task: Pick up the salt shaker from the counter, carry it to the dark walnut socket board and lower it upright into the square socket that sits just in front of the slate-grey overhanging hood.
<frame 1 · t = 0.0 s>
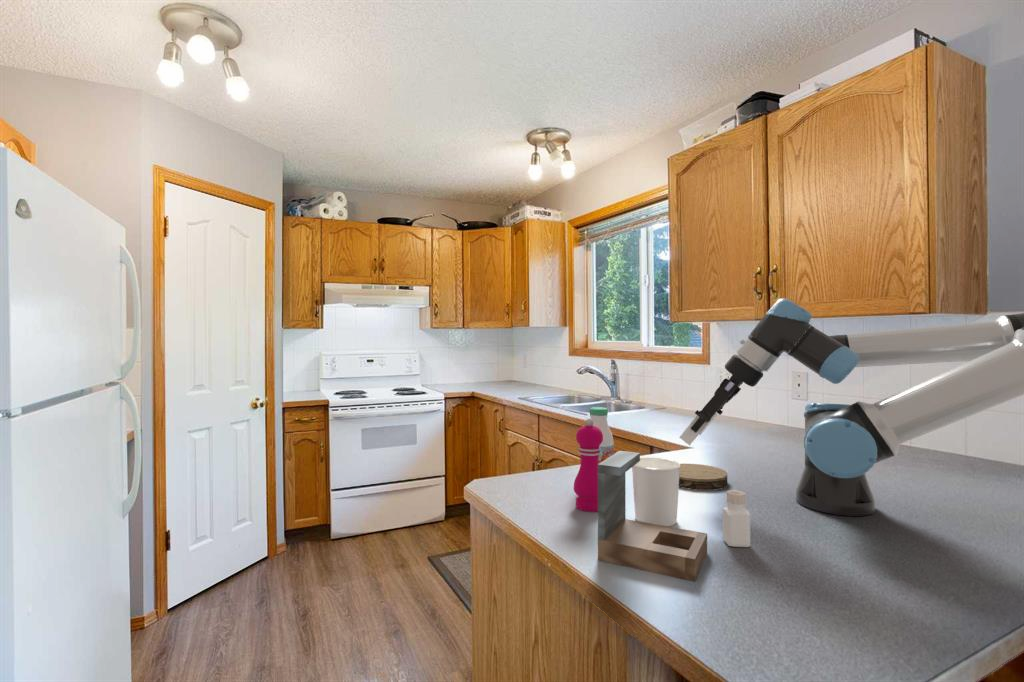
hand: (690, 436, 119), 15 cm above the counter, tool tilted 35°, fingers open, 13 cm apart
tan flat round disc: (695, 483, 136), on the counter
salt shaker: (736, 544, 95), on the counter
milk bottle: (598, 486, 132), on the counter
pepper mill: (589, 508, 116), on the counter
candle holder: (655, 521, 107), on the counter
socket stand: (653, 556, 90), on the counter
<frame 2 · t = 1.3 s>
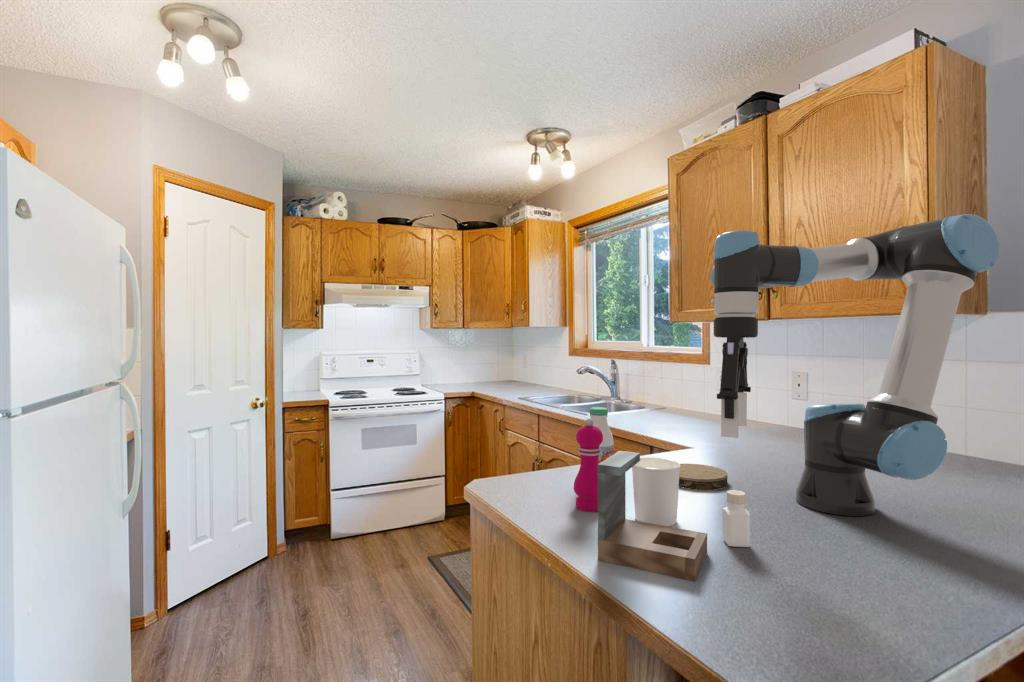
hand: (734, 430, 95), 21 cm above the counter, tool pointing down, fingers open, 13 cm apart
nothing on the counter moved.
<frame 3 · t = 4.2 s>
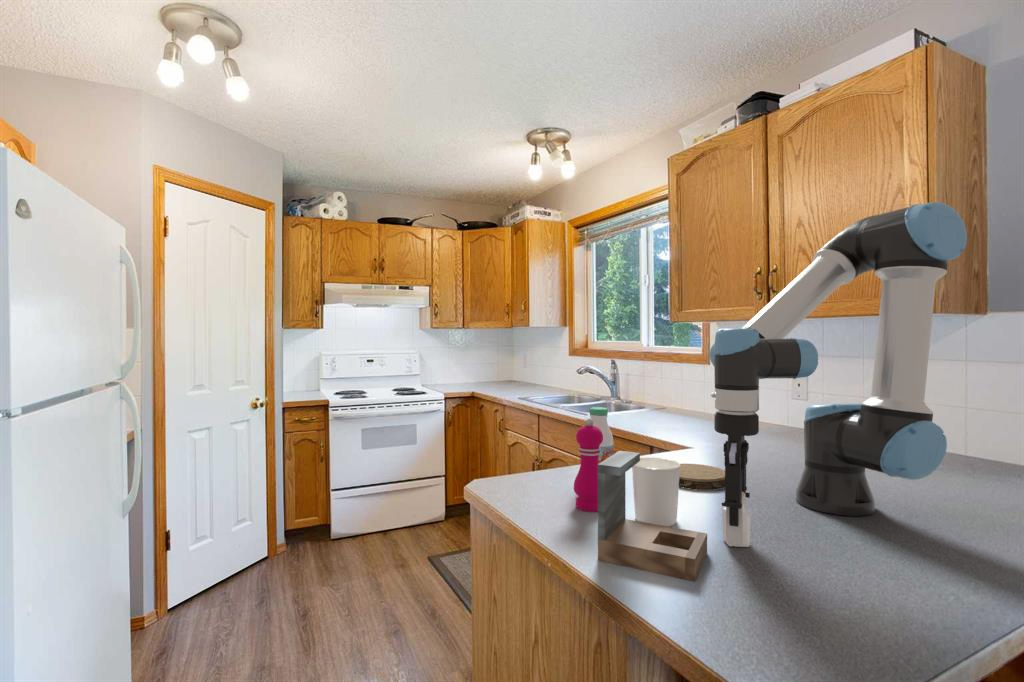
hand: (736, 536, 95), 1 cm above the counter, tool pointing down, fingers closed on salt shaker, 5 cm apart
salt shaker: (736, 544, 95), on the counter, touching gripper
everything else where it was.
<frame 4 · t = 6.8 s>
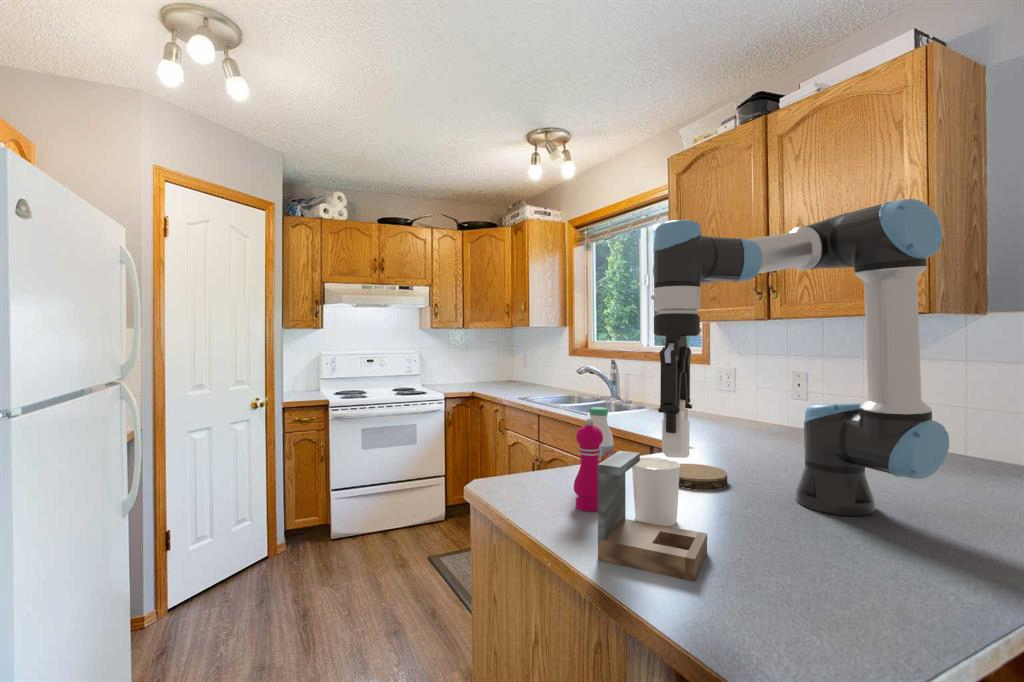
hand: (675, 448, 88), 19 cm above the counter, tool pointing down, fingers closed on salt shaker, 5 cm apart
salt shaker: (675, 456, 88), point 18 cm above the counter, touching gripper
everything else where it was.
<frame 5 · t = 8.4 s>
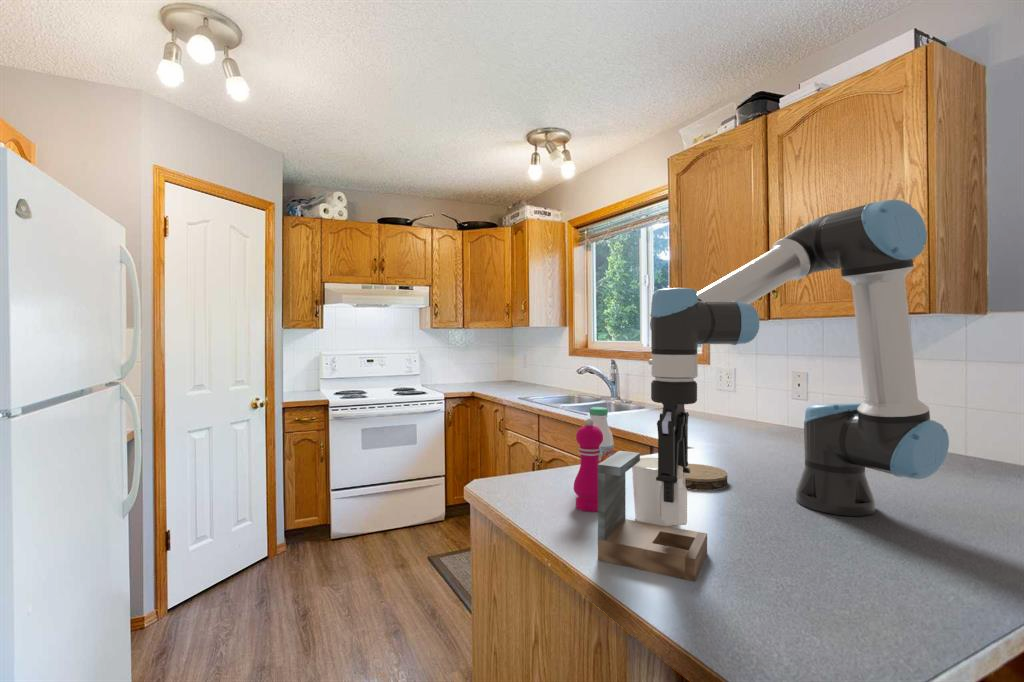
hand: (673, 514, 88), 8 cm above the counter, tool pointing down, fingers closed on salt shaker, 5 cm apart
salt shaker: (673, 523, 88), point 6 cm above the counter, touching gripper
everything else where it was.
when the fingers open (5 cm above the counter, at t = 9.6 s): salt shaker drops 4 cm, resting in socket stand.
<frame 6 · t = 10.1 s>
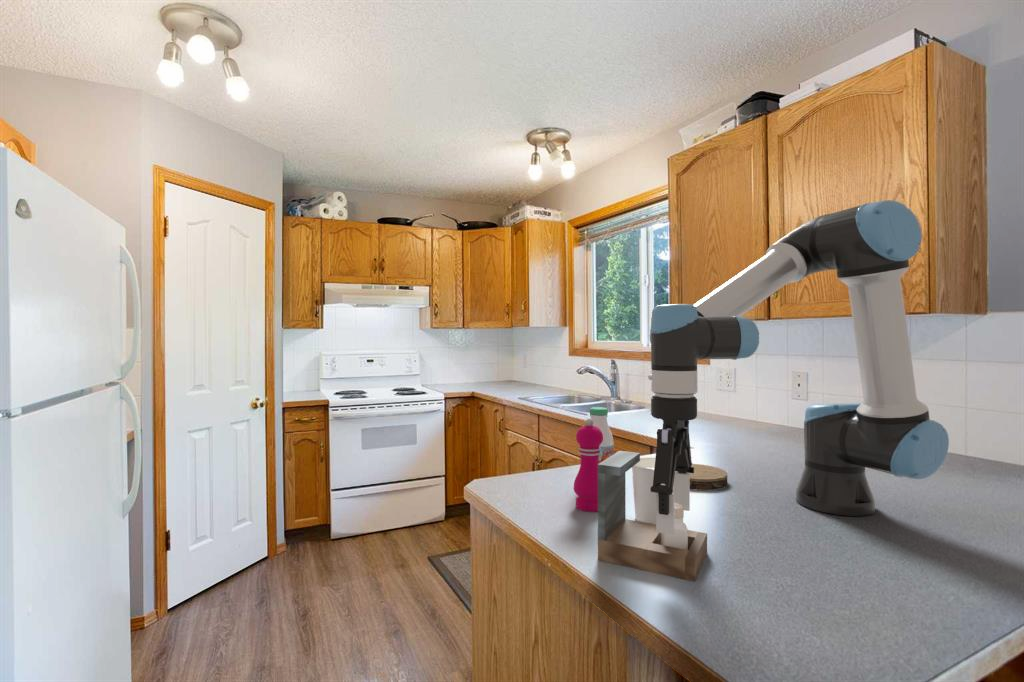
hand: (673, 520, 88), 7 cm above the counter, tool pointing down, fingers open, 12 cm apart
salt shaker: (674, 561, 88), resting in socket stand
everything else where it was.
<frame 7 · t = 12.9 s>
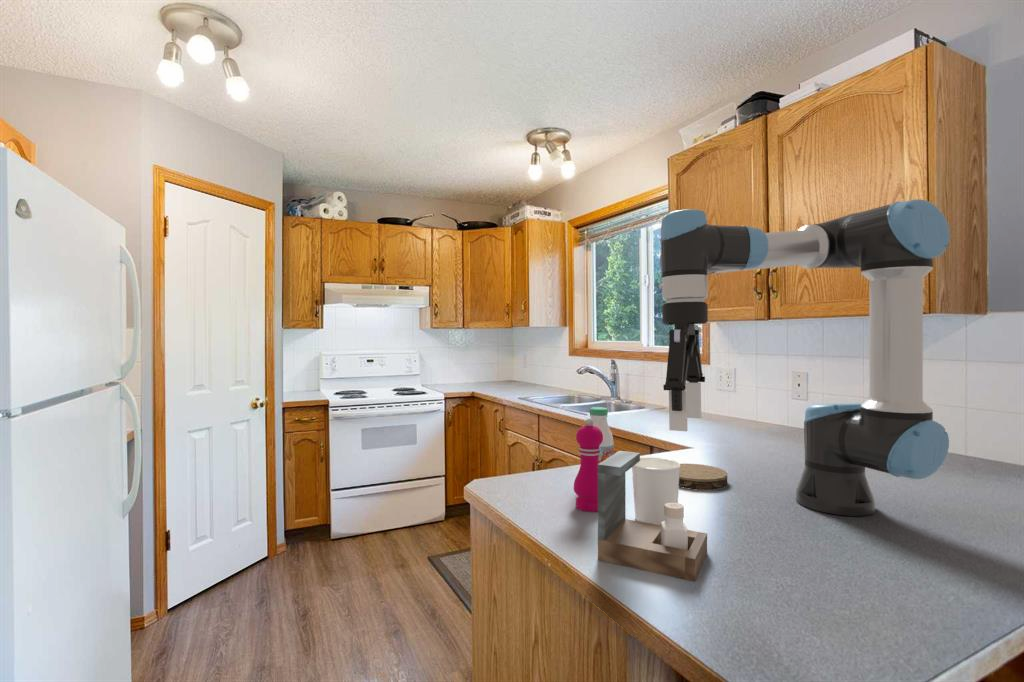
hand: (686, 423, 89), 23 cm above the counter, tool pointing down, fingers open, 13 cm apart
nothing on the counter moved.
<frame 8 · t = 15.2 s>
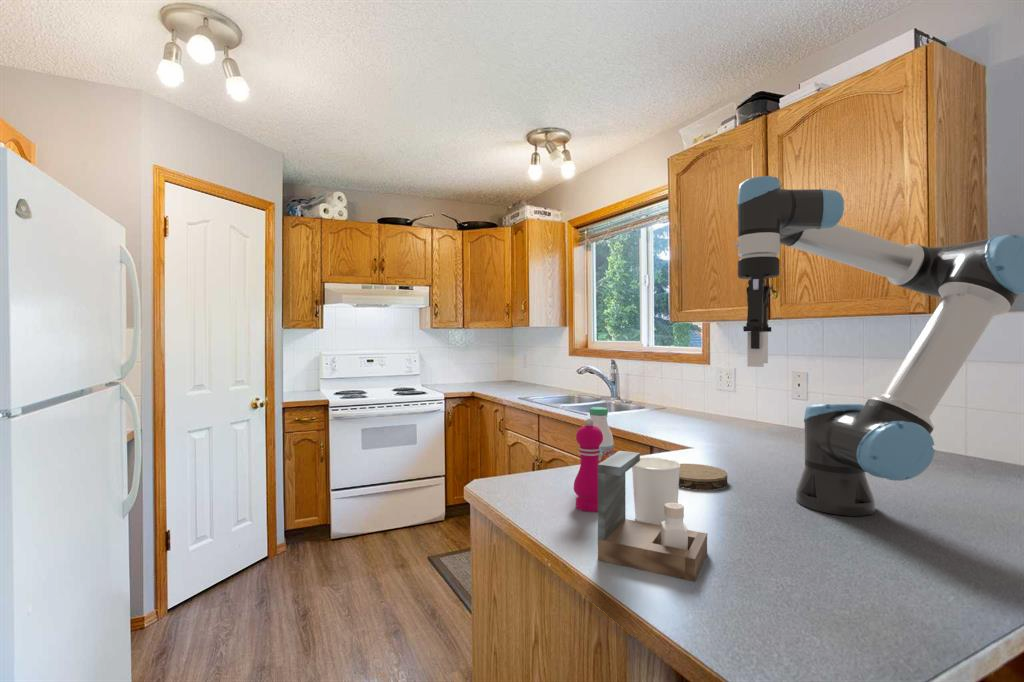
hand: (758, 364, 102), 33 cm above the counter, tool pointing down, fingers open, 13 cm apart
nothing on the counter moved.
at the end: salt shaker 0.1 cm from the target spot on the socket stand, point 0.0 cm above the socket stand's base; salt shaker tilted 0°; the gripper is holding nothing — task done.
